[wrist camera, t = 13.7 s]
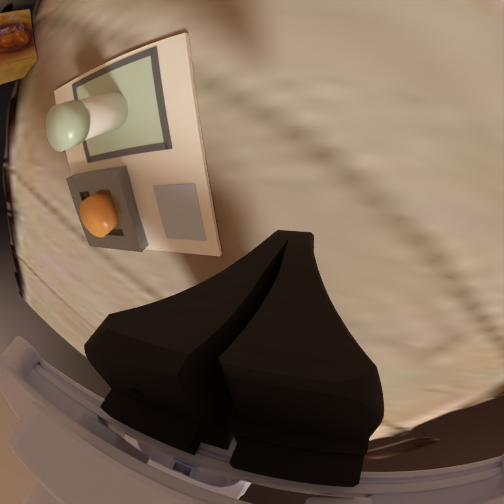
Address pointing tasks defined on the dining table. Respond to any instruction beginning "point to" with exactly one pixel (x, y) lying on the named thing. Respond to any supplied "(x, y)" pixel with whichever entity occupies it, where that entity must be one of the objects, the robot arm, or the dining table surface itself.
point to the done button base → (124, 203)
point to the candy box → (16, 45)
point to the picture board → (154, 143)
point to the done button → (99, 213)
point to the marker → (84, 119)
